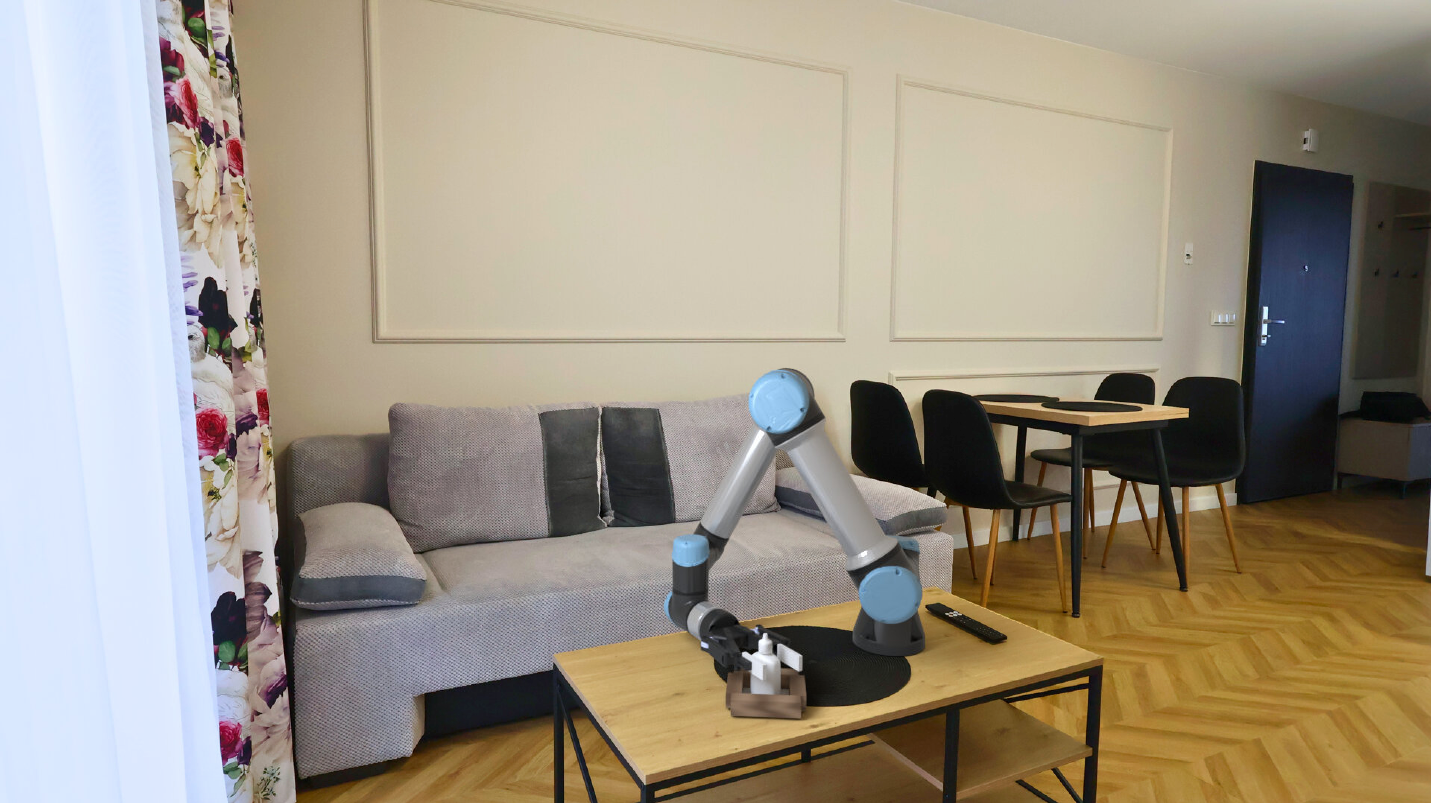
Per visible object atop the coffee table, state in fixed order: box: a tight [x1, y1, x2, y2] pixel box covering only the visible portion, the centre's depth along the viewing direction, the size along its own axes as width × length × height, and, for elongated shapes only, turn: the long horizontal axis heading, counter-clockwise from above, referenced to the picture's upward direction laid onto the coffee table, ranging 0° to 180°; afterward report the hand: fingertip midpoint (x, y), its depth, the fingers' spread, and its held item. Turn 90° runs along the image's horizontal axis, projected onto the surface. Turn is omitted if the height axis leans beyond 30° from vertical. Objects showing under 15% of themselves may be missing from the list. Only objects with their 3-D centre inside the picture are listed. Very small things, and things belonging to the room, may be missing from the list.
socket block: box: [725, 667, 807, 719], centre depth 147 cm, size 14×14×3 cm
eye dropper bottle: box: [751, 633, 782, 695], centre depth 147 cm, size 4×6×12 cm
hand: (782, 667), depth 143 cm, fingers open, 7 cm apart
